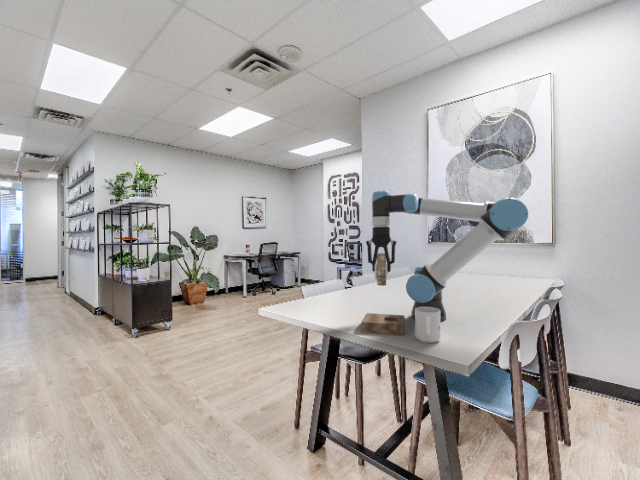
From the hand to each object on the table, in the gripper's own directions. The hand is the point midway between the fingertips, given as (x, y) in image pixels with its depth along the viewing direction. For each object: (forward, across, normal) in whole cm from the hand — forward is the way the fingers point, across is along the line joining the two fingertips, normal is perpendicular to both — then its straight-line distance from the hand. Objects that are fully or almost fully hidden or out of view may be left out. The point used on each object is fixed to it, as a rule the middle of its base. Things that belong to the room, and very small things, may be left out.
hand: (381, 278), depth 143 cm
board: (+19, -3, +11) cm, 22 cm away
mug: (+19, -20, +21) cm, 35 cm away
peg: (+3, 0, 0) cm, 3 cm away
